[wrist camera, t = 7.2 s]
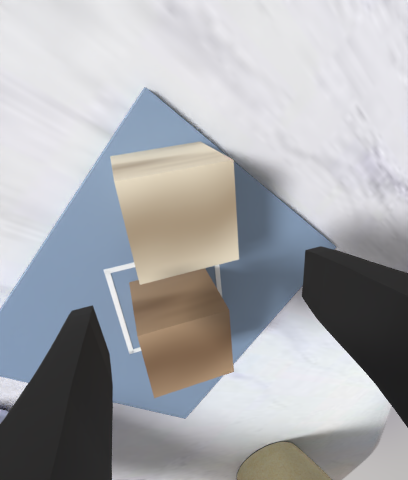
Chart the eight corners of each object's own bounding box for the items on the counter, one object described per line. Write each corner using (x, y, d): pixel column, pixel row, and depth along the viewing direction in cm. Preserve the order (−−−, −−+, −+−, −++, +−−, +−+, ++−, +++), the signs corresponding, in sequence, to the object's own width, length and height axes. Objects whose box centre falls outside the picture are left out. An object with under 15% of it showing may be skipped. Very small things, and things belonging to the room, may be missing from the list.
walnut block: (209, 319, 21) (233, 371, 17) (143, 338, 20) (154, 398, 16) (202, 263, 19) (229, 309, 15) (128, 282, 18) (137, 336, 14)
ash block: (208, 221, 18) (239, 259, 14) (130, 239, 17) (139, 285, 13) (200, 141, 16) (233, 159, 12) (110, 156, 15) (114, 181, 11)
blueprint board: (183, 411, 25) (185, 419, 25) (-33, 359, 18) (-37, 368, 17) (330, 243, 22) (336, 247, 22) (144, 87, 14) (146, 87, 14)
